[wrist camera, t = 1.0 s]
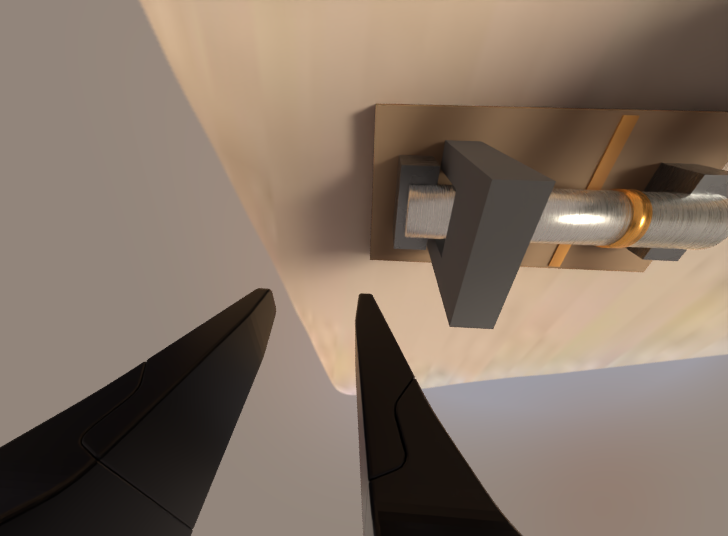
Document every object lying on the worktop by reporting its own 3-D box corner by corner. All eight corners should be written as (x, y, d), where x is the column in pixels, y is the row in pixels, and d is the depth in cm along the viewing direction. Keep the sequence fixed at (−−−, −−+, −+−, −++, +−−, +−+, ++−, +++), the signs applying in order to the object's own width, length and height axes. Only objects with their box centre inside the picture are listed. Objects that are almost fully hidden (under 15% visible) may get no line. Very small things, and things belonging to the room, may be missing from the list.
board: (731, 111, 15) (765, 114, 13) (627, 261, 20) (644, 272, 19) (376, 103, 16) (375, 105, 14) (370, 249, 21) (370, 260, 20)
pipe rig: (697, 163, 15) (789, 186, 12) (643, 241, 18) (704, 276, 14) (398, 154, 16) (403, 173, 12) (392, 230, 18) (394, 262, 15)
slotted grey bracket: (481, 141, 15) (556, 181, 8) (455, 246, 19) (493, 329, 12) (445, 140, 15) (492, 179, 8) (426, 245, 19) (449, 326, 12)
